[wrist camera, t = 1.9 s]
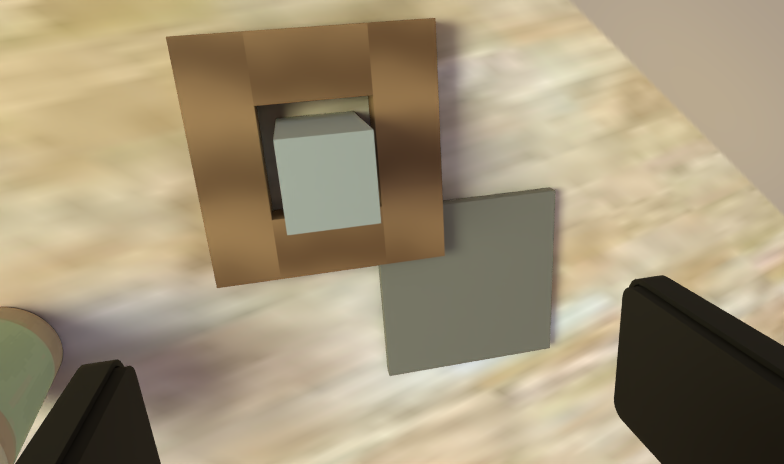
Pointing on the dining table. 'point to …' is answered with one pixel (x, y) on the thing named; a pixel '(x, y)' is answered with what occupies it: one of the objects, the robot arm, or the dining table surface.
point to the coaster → (474, 285)
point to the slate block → (326, 172)
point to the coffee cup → (24, 375)
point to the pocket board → (307, 83)
